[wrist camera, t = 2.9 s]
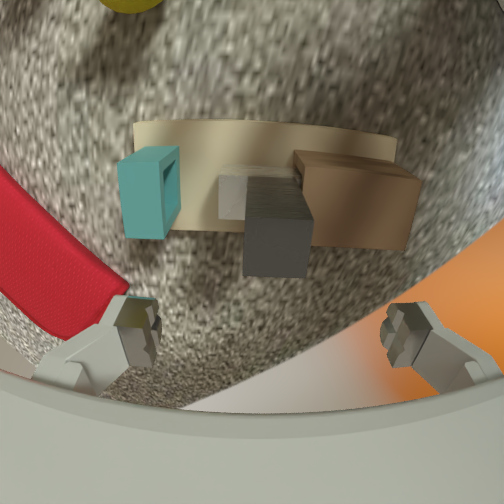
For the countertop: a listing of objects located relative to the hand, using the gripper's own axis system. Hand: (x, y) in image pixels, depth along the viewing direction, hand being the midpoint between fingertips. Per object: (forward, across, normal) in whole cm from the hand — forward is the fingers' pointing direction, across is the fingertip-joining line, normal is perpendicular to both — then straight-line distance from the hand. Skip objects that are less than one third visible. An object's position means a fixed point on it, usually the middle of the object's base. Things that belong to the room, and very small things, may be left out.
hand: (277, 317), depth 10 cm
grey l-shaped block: (+14, -3, 0) cm, 14 cm away
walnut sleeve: (+15, -6, 0) cm, 16 cm away
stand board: (+17, 0, 0) cm, 17 cm away
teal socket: (+15, +8, 0) cm, 17 cm away
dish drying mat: (+18, +33, +2) cm, 37 cm away
